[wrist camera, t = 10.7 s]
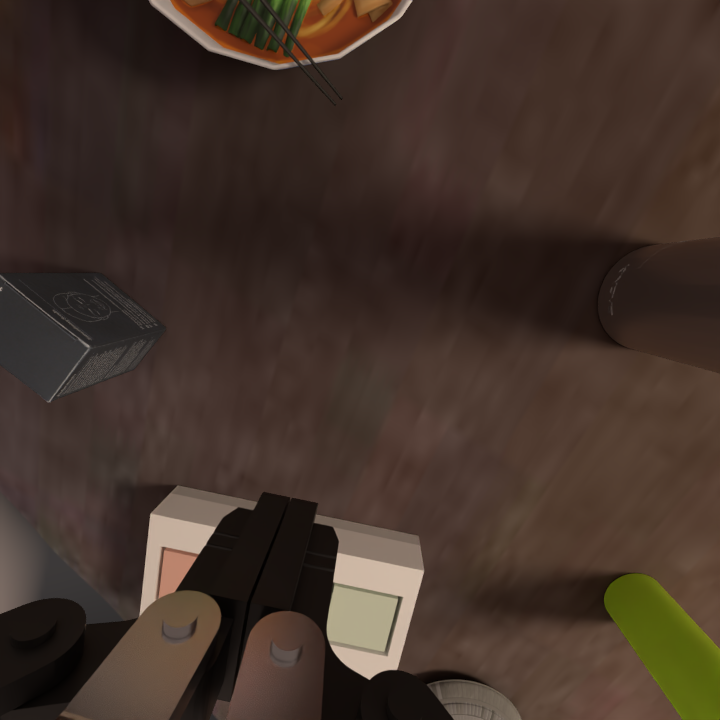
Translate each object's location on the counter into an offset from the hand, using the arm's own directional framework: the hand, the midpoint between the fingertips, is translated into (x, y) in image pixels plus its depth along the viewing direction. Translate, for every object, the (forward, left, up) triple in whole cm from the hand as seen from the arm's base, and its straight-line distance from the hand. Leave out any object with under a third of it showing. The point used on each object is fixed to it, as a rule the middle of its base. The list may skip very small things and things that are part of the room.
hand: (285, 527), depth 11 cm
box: (+22, +2, -27) cm, 35 cm away
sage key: (-6, +24, -25) cm, 35 cm away
